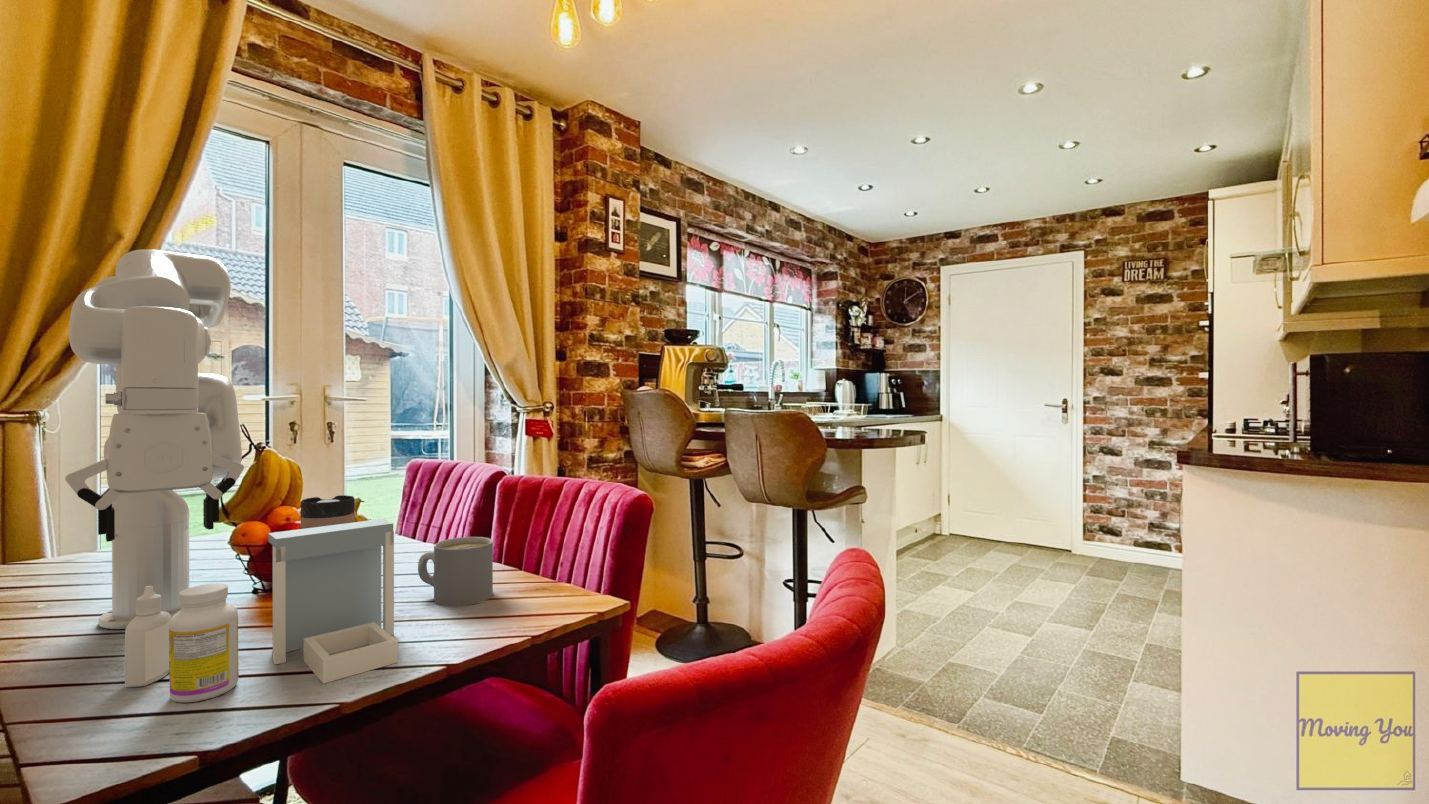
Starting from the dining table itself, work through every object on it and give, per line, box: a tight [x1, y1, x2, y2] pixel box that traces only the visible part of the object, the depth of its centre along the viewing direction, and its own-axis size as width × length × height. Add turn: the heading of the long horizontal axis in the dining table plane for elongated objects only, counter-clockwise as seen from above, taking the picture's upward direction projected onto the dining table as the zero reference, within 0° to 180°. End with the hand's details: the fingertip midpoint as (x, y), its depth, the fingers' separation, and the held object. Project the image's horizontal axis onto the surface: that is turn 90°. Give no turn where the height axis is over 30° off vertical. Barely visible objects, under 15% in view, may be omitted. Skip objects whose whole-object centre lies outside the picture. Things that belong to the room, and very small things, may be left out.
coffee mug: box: [417, 536, 494, 608], centre depth 114 cm, size 13×10×10 cm
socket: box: [303, 622, 399, 684], centre depth 86 cm, size 10×9×3 cm
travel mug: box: [299, 494, 356, 529], centre depth 101 cm, size 8×8×20 cm
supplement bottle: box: [168, 583, 240, 703], centre depth 77 cm, size 7×7×13 cm
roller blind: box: [267, 518, 395, 665], centre depth 92 cm, size 5×15×17 cm, turn 135°
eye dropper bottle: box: [124, 586, 171, 688], centre depth 80 cm, size 4×6×12 cm
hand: (161, 533), depth 81 cm, fingers open, 9 cm apart
